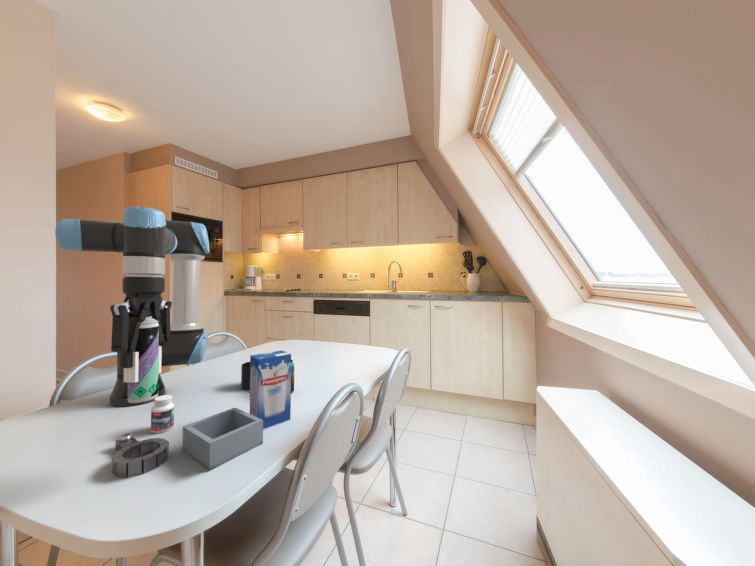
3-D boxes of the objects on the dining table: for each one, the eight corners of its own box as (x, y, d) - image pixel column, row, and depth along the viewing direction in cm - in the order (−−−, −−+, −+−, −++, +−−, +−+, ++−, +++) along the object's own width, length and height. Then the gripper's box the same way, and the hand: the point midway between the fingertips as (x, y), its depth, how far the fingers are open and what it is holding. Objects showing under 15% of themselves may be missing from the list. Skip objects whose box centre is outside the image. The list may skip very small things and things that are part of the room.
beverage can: (275, 397, 104) (275, 364, 104) (274, 390, 110) (274, 359, 110) (295, 394, 106) (295, 362, 106) (292, 388, 113) (293, 357, 113)
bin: (182, 450, 70) (182, 426, 70) (234, 428, 81) (234, 407, 81) (209, 470, 63) (210, 443, 63) (262, 443, 74) (263, 420, 74)
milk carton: (281, 412, 91) (281, 350, 91) (290, 419, 87) (291, 353, 87) (249, 423, 84) (249, 355, 84) (257, 431, 80) (258, 359, 80)
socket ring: (96, 454, 68) (96, 442, 68) (146, 436, 76) (147, 425, 76) (120, 483, 59) (121, 469, 59) (175, 459, 67) (175, 446, 67)
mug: (247, 394, 106) (247, 370, 106) (238, 385, 115) (238, 363, 115) (272, 388, 112) (273, 365, 112) (262, 380, 121) (262, 359, 121)
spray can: (122, 404, 62) (123, 312, 62) (134, 395, 67) (135, 310, 67) (152, 401, 64) (153, 312, 64) (162, 392, 69) (162, 309, 69)
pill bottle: (148, 435, 77) (148, 402, 77) (153, 426, 82) (153, 395, 82) (172, 431, 80) (172, 399, 80) (175, 422, 84) (175, 392, 84)
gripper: (161, 276, 75) (161, 365, 75) (85, 274, 57) (84, 391, 57) (189, 277, 74) (188, 366, 75) (121, 275, 56) (119, 393, 56)
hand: (143, 377), depth 66 cm, fingers closed on spray can, 5 cm apart
